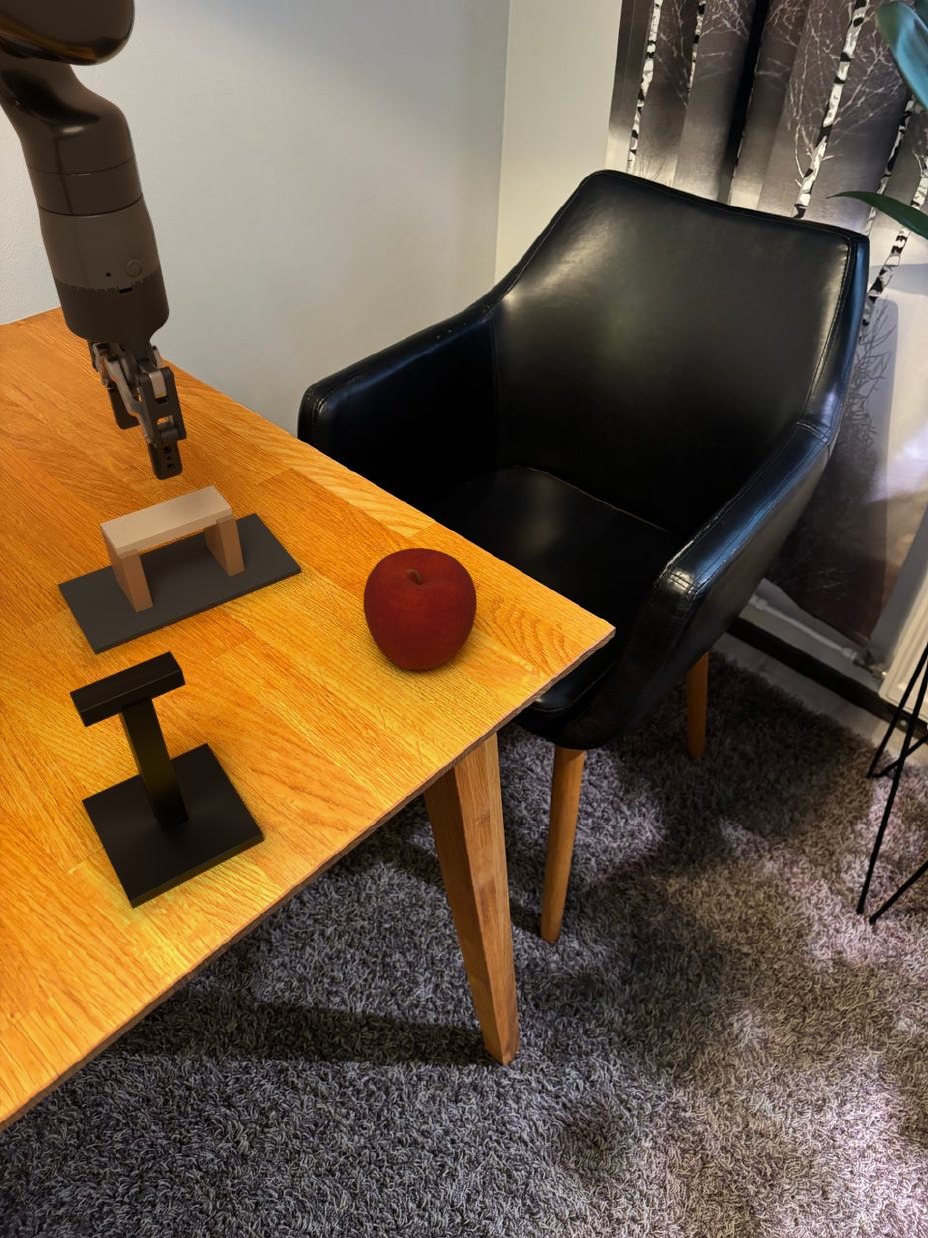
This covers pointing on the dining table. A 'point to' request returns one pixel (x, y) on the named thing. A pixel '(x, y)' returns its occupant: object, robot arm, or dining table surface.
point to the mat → (175, 585)
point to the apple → (419, 607)
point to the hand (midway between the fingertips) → (149, 449)
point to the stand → (160, 790)
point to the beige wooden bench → (170, 537)
